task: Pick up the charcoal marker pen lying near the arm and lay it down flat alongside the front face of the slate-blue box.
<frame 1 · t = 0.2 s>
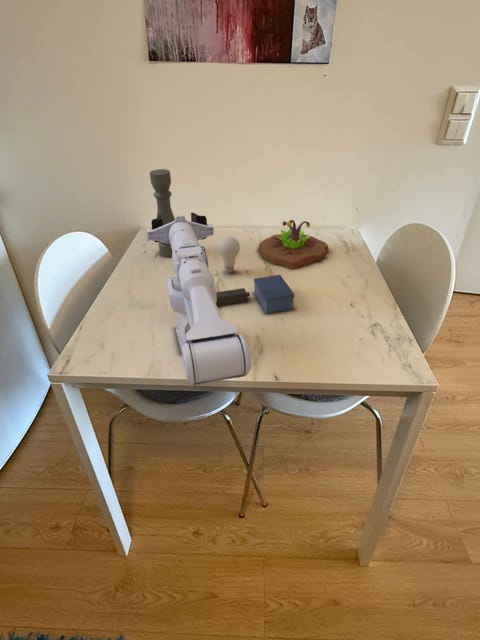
hand: (176, 217, 97), 21 cm above the table, tool horizontal, fingers open, 7 cm apart
candle holder: (169, 253, 130), on the table
blue box: (272, 301, 106), on the table
lightbulb: (229, 273, 119), on the table
plant: (291, 253, 129), on the table
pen: (228, 301, 106), on the table
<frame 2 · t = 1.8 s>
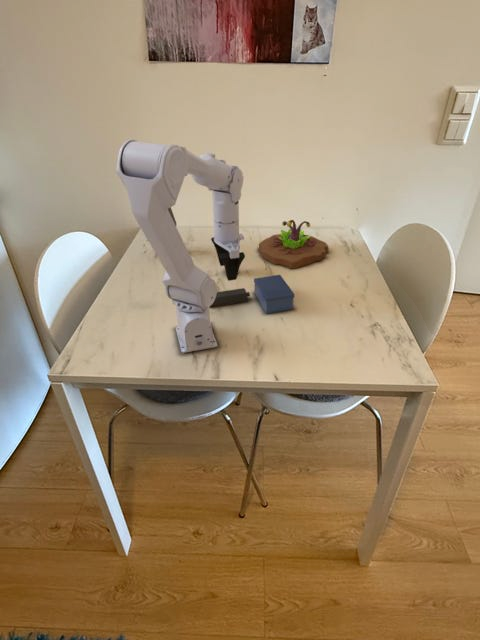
hand: (228, 272, 101), 9 cm above the table, tool pointing down, fingers open, 7 cm apart
nothing on the table moved.
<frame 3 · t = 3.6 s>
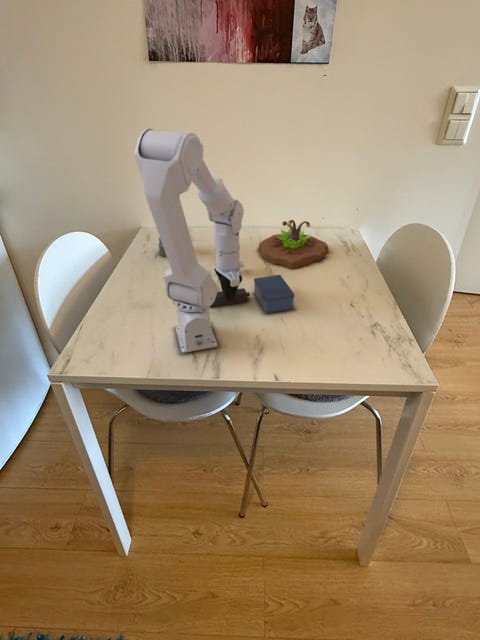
hand: (228, 296, 105), 1 cm above the table, tool pointing down, fingers closed on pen, 2 cm apart
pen: (228, 301, 106), on the table, touching gripper
everything else where it was.
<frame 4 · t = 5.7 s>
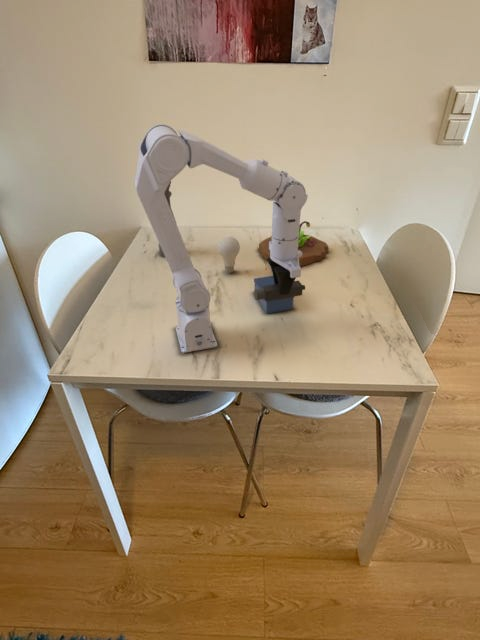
hand: (282, 290, 94), 8 cm above the table, tool pointing down, fingers closed on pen, 2 cm apart
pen: (282, 295, 95), point 7 cm above the table, touching gripper
everything else where it was.
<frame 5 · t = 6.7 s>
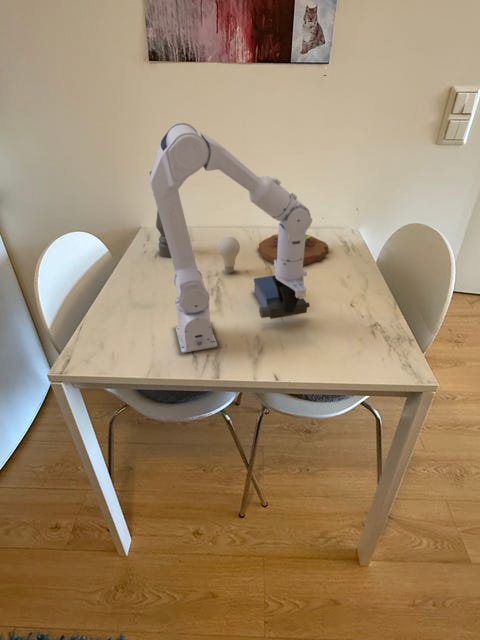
hand: (287, 308, 96), 4 cm above the table, tool pointing down, fingers closed on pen, 2 cm apart
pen: (286, 312, 97), point 2 cm above the table, touching gripper
everything else where it was.
when the fingers open (1 cm above the table, at t = 7.8 s): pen stays where it is, on the table.
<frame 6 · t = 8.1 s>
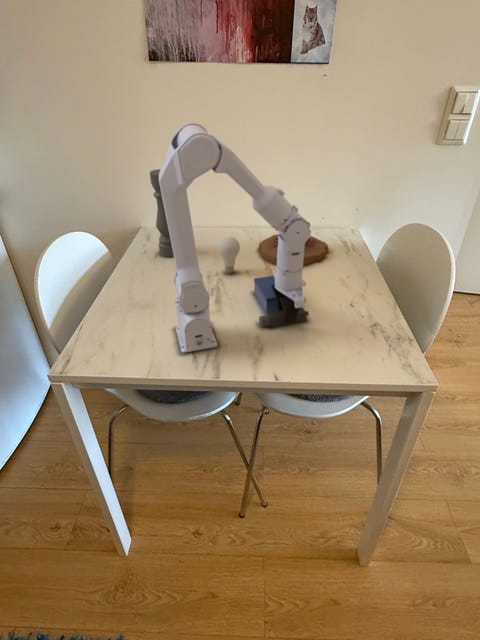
hand: (286, 317, 98), 1 cm above the table, tool pointing down, fingers open, 4 cm apart
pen: (286, 321, 98), on the table
everything else where it was.
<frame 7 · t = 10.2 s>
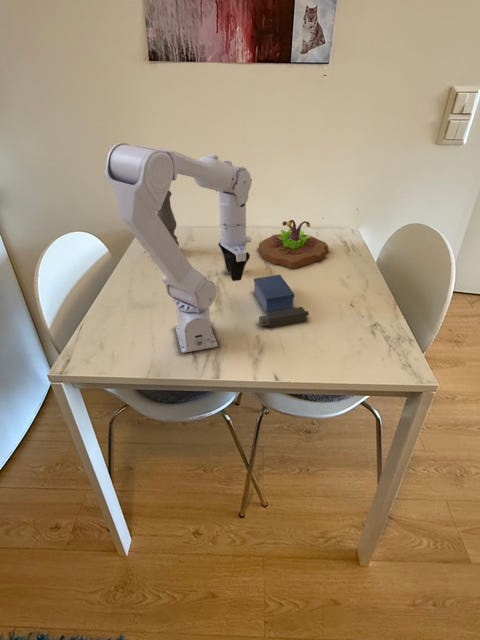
hand: (234, 275, 99), 9 cm above the table, tool pointing down, fingers open, 4 cm apart
nothing on the table moved.
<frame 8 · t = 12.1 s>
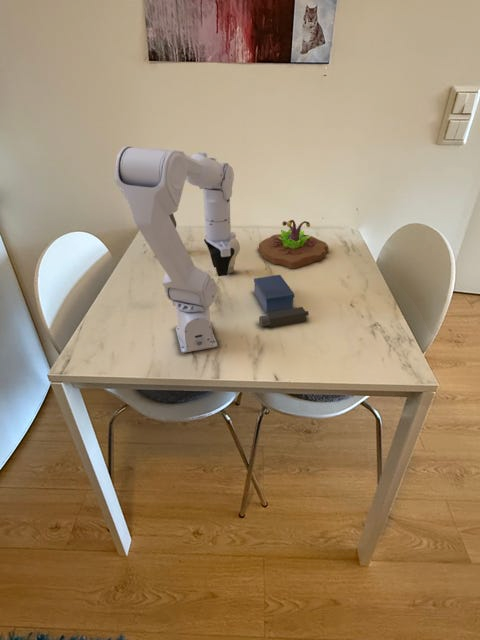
hand: (220, 270, 100), 9 cm above the table, tool pointing down, fingers open, 4 cm apart
nothing on the table moved.
at the end: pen inside the target area on the table beside the blue box (0.5 cm from its centre), on the table; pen tilted 0°; blue box moved 0.0 cm from its start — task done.
